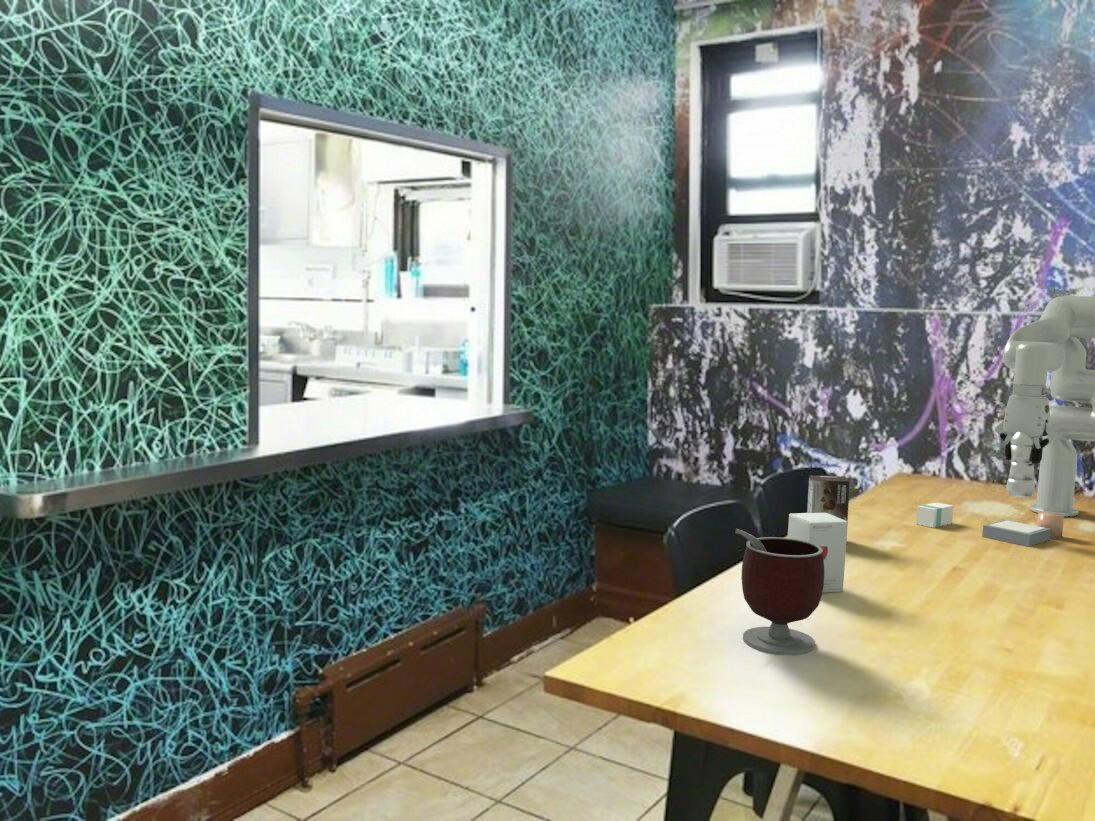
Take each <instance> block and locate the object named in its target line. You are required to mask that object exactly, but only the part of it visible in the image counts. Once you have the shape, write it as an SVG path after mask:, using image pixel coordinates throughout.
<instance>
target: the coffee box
mask: <svg viewBox="0 0 1095 821" xmlns="http://www.w3.org/2000/svg"><path fill="white" fill-rule="evenodd" d="M850 483H851V482H850V479H848V477H846V476H839V475H837V476H836V475H814V474H813V475H812V474H811V475H809V476H808V492H807V510H806V513H828V514H831V515H833V516H835V517H838V518H840V519H843V520H845V521H847V522H848V523H849V521H848V520H849V518H848V517H849V504H850V503H849V502H850V500H849V499H850ZM847 543H848V542H847V541H846V544H847Z"/></svg>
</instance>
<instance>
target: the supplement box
mask: <svg viewBox="0 0 1095 821" xmlns="http://www.w3.org/2000/svg"><path fill="white" fill-rule="evenodd" d="M848 526H849V521H848V522H847V521H845V520H843V519H840V518H838V517H835V516H833V515H831V514H828V513H807V512H801V513H800V512H799V513H798V512H797V513H796V512H795V513H789V514H788V529H787V538H791V539H798V540H803V541H807V542H811V543H814V544H816V545H818V546H820V547H821V548H822V549H823V552H822V554H823V560H824V572H825V573H824V587H823V591H822V594H824V593H825V594H826V593H841V592H844V579H845V566H846V552H847V543H846V541H847V540H848V538H847V537H848V528H849V527H848Z"/></svg>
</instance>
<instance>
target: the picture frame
mask: <svg viewBox="0 0 1095 821" xmlns="http://www.w3.org/2000/svg"><path fill="white" fill-rule="evenodd" d="M981 534H982V535H981V537H983V538H986V537H987V539H991V540H995V541H1002V542H1007V543H1010V544H1016V545H1019V546H1024V547H1028V546H1029V547H1032V545H1033V546H1036V545H1039V544H1042V543H1045V541H1046V542H1049V541H1051V539H1050V537H1051V529H1050V528H1045V527H1039V526H1037V525H1033V524H1029V523H1023V522H1019V521H1013V520H1008V519H1002V520H999V521H994V522H991V523H988V524H987V523H986V524H984V525H983V526H982V533H981ZM1035 544H1036V545H1035Z"/></svg>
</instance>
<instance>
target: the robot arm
mask: <svg viewBox="0 0 1095 821" xmlns="http://www.w3.org/2000/svg"><path fill="white" fill-rule="evenodd" d="M1079 338H1080V339H1095V296H1087V295H1086V296H1084V295H1061V296H1056V297H1054V298H1052V299H1050V301H1049V302H1048V303H1047V305H1046V306H1045V308H1044V310H1043V312H1042V314H1041V316H1040V317H1039V319H1038V320H1036V321H1033V322H1031V323H1028V324H1026V325H1023V326H1021V327H1018V328H1017V329H1016V330H1015V331H1013V332H1012V334H1010V336H1009V338H1008V340H1007V341H1006V344H1005V345H1004V348H1003V352H1002V360H1003V365H1004V366H1006V368H1008V369H1010V370H1014V375H1013V384H1012V395H1010V396H1009V397H1008V401H1007V403H1006V408H1005V413H1004V418H1003V421H1001V422H1000V423H999V424H998V425H997V426H996V427H994V431H995V432H996V433H997V434H998V435H999V437H1000V439H1001V440H1002V441H1003V444H1004V445H1005V452H1004V456H1005V460H1006V461H1011V443H1010V440H1011V437H1012V436H1013V435H1014V434H1016V433H1018V432H1023V433H1025V434H1026V435H1028V436H1030V437H1033V440H1034V443H1035V448H1034V449H1033V454H1032V464H1034V465H1037V464H1039V472H1038V482H1037V493H1036V504H1035V503H1034V504H1031V505H1030V506H1029V507H1030V508H1029V510H1030V511H1032V512H1034V513H1037V514H1038V513H1039V512H1053V513H1059V514H1062V515H1064V518H1065V517H1066V518H1067V517H1068V516H1070V517H1077V516H1078V515H1079V510H1077V509H1076V508H1073V507H1074V504H1075V503H1076V501H1077V499H1076V497H1075V496H1074V495H1075V487H1076V486H1075V484H1076V478H1077V463H1078V453H1077V450H1076V448H1075V447H1074V445H1073V444H1072V443H1071V441H1070V440H1074V441H1083V442H1084V441H1086V442H1095V369H1087V368H1086V361H1087V350H1086V348H1085V346H1084V345H1083V343H1082V342H1081V340H1079ZM1048 372H1050V373H1051V374H1050V383H1049V388H1048V386H1047V379H1048ZM1047 395H1050V396H1051V397H1052V398H1053V399H1054V400H1058V401H1063V402H1074V403H1085V404H1090V405H1091V406H1092V407H1082V406H1075V405H1074V406H1073V405H1060V404H1056V405H1050V400H1049V398H1047V397H1046V396H1047ZM1076 515H1077V516H1076Z"/></svg>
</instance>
